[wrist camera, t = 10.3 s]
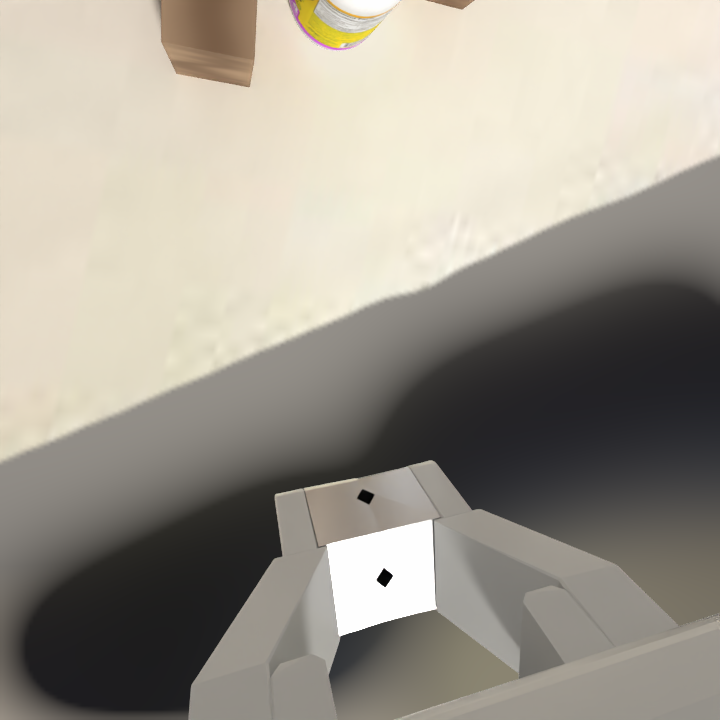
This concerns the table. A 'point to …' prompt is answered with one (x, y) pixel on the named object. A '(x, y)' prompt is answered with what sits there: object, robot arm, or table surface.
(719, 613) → the robot arm
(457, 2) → the walnut block seven
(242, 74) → the walnut block one
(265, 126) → the table surface
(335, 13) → the supplement bottle
